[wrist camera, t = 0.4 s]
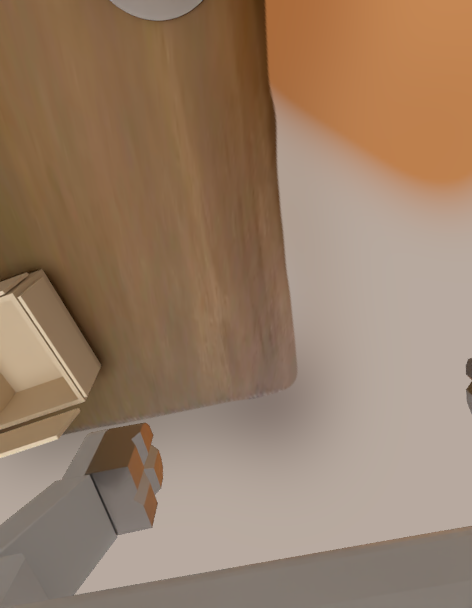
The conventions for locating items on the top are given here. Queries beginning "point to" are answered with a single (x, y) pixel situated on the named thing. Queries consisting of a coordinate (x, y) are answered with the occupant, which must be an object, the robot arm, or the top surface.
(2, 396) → the carton
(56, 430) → the flap
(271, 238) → the top surface
